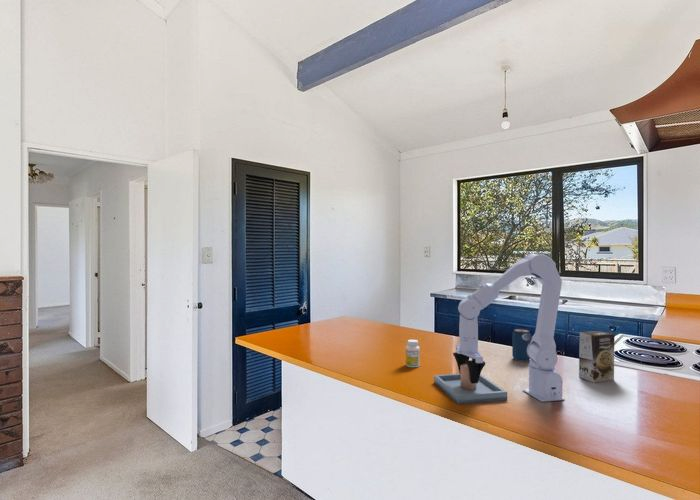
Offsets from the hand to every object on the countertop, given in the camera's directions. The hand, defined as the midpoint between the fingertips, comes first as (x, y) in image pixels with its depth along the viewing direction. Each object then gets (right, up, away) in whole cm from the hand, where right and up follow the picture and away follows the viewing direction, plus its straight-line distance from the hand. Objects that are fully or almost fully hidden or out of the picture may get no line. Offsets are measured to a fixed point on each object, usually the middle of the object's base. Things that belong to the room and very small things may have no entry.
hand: (468, 378), depth 124 cm
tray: (0, -4, 0) cm, 4 cm away
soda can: (+32, -3, +33) cm, 46 cm away
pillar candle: (0, -3, 0) cm, 3 cm away
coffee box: (+48, -4, +11) cm, 49 cm away
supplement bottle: (-14, -4, +26) cm, 30 cm away
